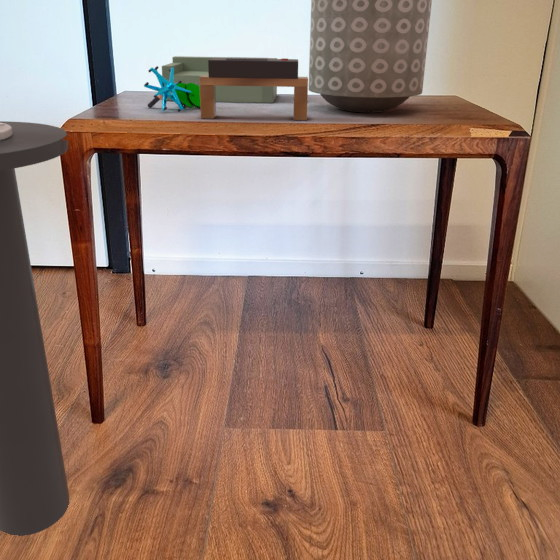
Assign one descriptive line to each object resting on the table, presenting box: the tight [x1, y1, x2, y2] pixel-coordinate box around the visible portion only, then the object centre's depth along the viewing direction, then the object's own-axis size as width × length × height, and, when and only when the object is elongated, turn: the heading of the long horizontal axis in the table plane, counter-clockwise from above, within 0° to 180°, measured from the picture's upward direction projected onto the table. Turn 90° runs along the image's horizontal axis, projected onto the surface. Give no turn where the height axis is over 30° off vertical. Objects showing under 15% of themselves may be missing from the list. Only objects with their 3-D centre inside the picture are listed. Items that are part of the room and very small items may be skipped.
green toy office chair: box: [143, 65, 201, 113], centre depth 99 cm, size 12×7×8 cm
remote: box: [208, 56, 299, 79], centre depth 88 cm, size 13×5×3 cm, turn 89°
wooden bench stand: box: [199, 75, 309, 121], centre depth 90 cm, size 16×3×6 cm, turn 89°
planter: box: [308, 0, 433, 113], centre depth 98 cm, size 19×19×18 cm
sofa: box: [161, 55, 278, 104], centre depth 112 cm, size 12×20×7 cm, turn 87°
